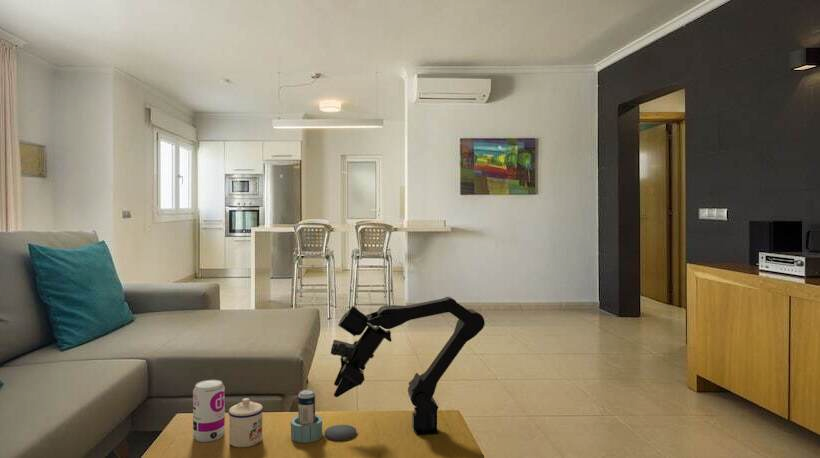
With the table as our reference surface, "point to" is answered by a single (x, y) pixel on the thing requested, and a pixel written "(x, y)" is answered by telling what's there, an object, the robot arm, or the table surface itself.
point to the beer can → (306, 407)
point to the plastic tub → (306, 430)
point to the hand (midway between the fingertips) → (335, 390)
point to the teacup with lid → (245, 423)
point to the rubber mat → (340, 432)
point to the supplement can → (208, 410)
